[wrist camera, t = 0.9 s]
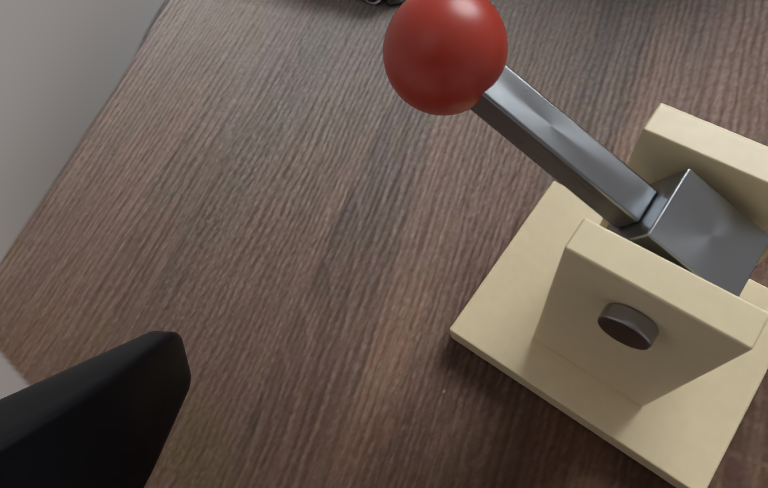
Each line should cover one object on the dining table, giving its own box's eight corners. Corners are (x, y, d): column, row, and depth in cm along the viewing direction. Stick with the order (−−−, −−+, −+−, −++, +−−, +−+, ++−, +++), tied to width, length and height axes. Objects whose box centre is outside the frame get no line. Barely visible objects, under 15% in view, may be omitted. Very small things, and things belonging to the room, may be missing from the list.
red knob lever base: (450, 337, 23) (432, 238, 14) (550, 193, 25) (590, 26, 16) (690, 497, 19) (875, 501, 10) (784, 314, 21) (1007, 184, 12)
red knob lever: (350, 83, 15) (370, 18, 12) (417, 7, 16) (451, -72, 13) (648, 325, 16) (739, 322, 13) (698, 240, 17) (795, 218, 13)
